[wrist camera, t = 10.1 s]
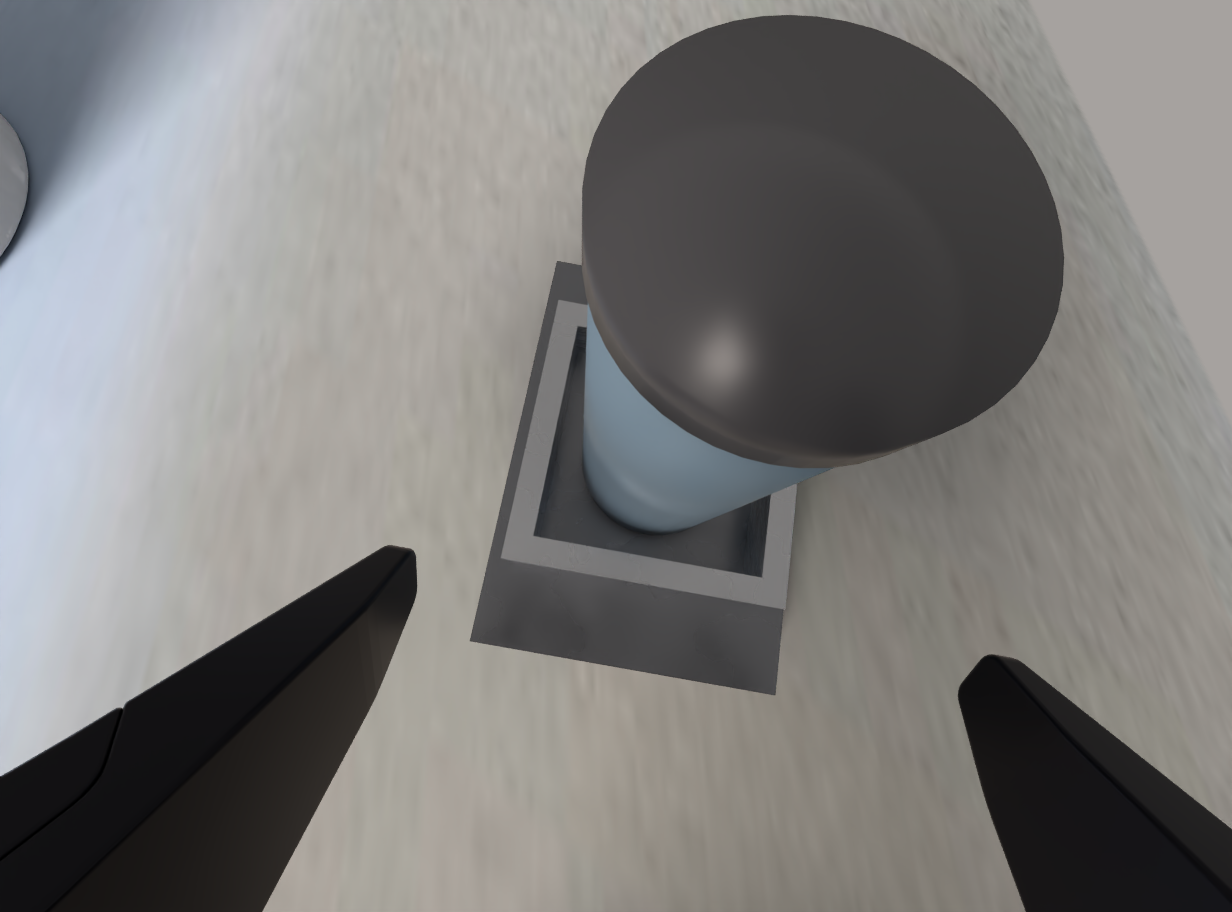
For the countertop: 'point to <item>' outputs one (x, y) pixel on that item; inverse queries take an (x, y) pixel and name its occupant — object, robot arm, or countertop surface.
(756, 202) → the capped blue cylinder
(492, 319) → the countertop surface
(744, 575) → the gray rectangular open-top holder
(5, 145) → the utensil holder
